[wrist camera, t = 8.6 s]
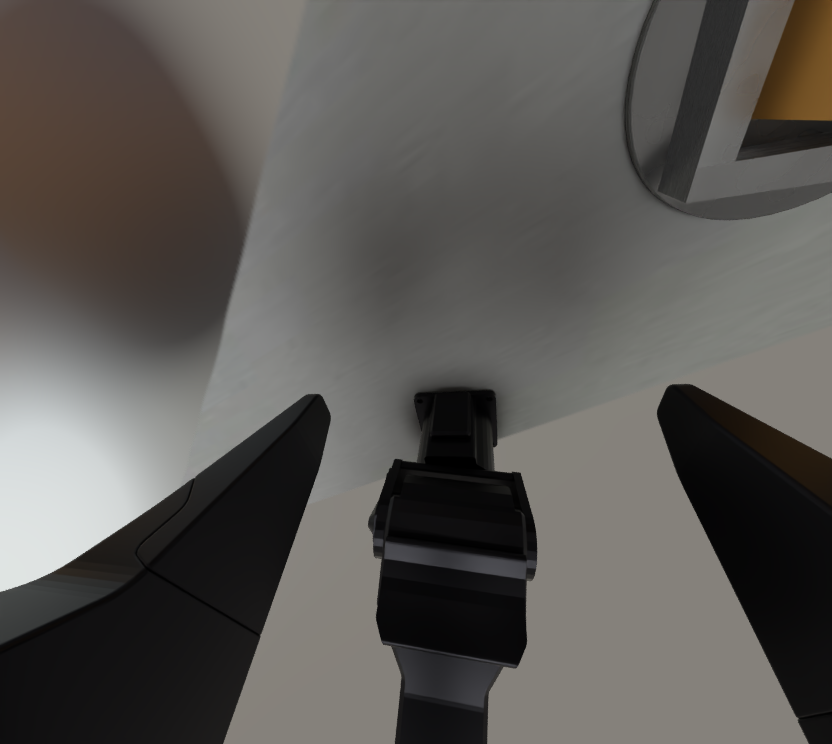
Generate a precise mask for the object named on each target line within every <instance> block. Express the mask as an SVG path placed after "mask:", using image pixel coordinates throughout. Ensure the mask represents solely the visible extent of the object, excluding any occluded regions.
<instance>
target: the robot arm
mask: <svg viewBox="0 0 832 744" xmlns="http://www.w3.org/2000/svg"><path fill="white" fill-rule="evenodd" d="M487 397H490V398H487ZM419 399H421V400H419ZM414 404H415V408H416V412H417V415H418V419H419V423H420V427H421V431H422V434H421V440H420V446H419V453H418V459H417V463H416V462H407V461H402V460H401V459H395V460H394V463H393V466H392V468H390V469H389V472H388V473H387V476H386V480H385V483H384V486H383V489H382V492H381V495H380V498H379V501H378V502H377V504H376V506H375V508H374V510H373V512H372V514H371V516H370V517H369V521H368V527H369V529H370V531H371V532H372V534H373V552H374V557H375V558H379V559H382V562H381V571H380V580H379V589H378V598H377V605H378V607H377V613H376V621H377V625H378V629H379V634H380V637H381V641H382V643H383V645H388V646H391V647H392V649H393V652H394V655H395V658H396V661H397V663H398V666H399V669H400V672H401V677H402V679H401V690H400V699H399V709H398V719H397V728H396V738H395V744H487V725H488V723H487V722H488V694H489V691H490V689H491V687H492V686H493V684H494V682H495V681H496V679H497V677H498V675H499V674H500V672H501V670H502V668H503V667H509V668H517V666H518V665H519V663H520V660H521V658H522V655H523V653H524V650H525V648H526V645H527V632H526V582H527V581H532V580H533V578H534V576H535V571H536V565H537V538H536V529H535V523H534V519H533V515H532V512H531V508H530V505H529V501H528V498H527V494H526V491H525V487H524V484H523V480H522V476H521V473H519V472H518V473H517V472H512V473H507V472H497V471H495V470H494V454H493V447H496V446H497V420H496V395H495V393H494V392H493V391H468V392H442V393H419V394H416V395H415V397H414ZM657 417H658V421H659V424H660V426H661V429H662V432H663V435H664V438H665V441H666V444H667V446H668V450H669V452H670V455H671V458H672V461H673V464H674V467H675V469H676V472H677V474H678V477H679V479H680V481H681V483H682V485H683V488H684V490H685V492H686V494H687V496H688V498H689V500H690V502H691V504H692V506H693V508H694V510H695V512H696V514H697V516H698V518H699V520H700V522H701V524H702V526H703V528H704V530H705V532H706V534H707V536H708V539H709V540H710V543H711V545H712V546H713V549H714V551H715V553H716V555H717V557H718V559H719V561H720V563H721V565H722V567H723V569H724V571H725V573H726V575H727V577H728V579H729V581H730V583H731V585H732V587H733V589H734V592H735V594H736V596H737V597H738V600H739V602H740V604H741V606H742V608H743V610H744V612H745V614H746V616H747V617H748V620H749V622H750V624H751V626H752V628H753V630H754V632H755V634H756V636H757V638H758V640H759V642H760V644H761V646H762V649H763V651H764V653H765V655H766V657H767V659H768V661H769V663H770V665H771V667H772V669H773V671H774V673H775V675H776V677H777V679H778V681H779V683H780V685H781V687H782V689H783V691H784V693H785V695H786V697H787V699H788V701H789V704H790V706H791V708H792V710H793V711H794V714H795V715H796V717H797V718H799V719H798V723H799V725H800V727H801V729H802V730H803V733H804V735H805V737H806V739H807V741H808V743H809V744H832V459H831V458H829V457H828V456H826V455H824V454H822V453H820V452H818V451H816V450H814V449H812V448H811V447H809V446H807V445H805V444H803V443H801V442H799V441H797V440H795V439H794V438H792V437H790V436H788V435H786V434H784V433H782V432H780V431H778V430H777V429H775V428H773V427H771V426H769V425H767V424H765V423H763V422H761V421H760V420H758V419H756V418H754V417H752V416H750V415H748V414H746V413H745V412H743V411H741V410H739V409H737V408H735V407H733V406H731V405H729V404H727V403H726V402H724V401H722V400H720V399H718V398H716V397H714V396H712V395H711V394H709V393H707V392H705V391H703V390H701V389H699V388H697V387H696V386H693V385H690V384H673V385H670V386H668V387H667V389H666V391H665V393H664V395H663V398H662V400H661V402H660V404H659V407H658V410H657ZM330 421H331V415H330V412H329V410H328V408H327V405H326V403H325V401H324V399H323V397H322V396H321V395H320V394H308V395H305V396H304V397H302V398H301V399H300V400H298V401H297V402H296V403H294V404H293V405H292V406H290V407H289V408H288V409H286V410H285V411H284V412H282V413H281V414H279V415H278V416H277V417H275V418H274V419H273V420H271V421H270V422H269V423H267V424H266V425H265V426H263V427H262V428H260V429H259V430H258V431H256V432H255V433H254V434H252V435H251V436H250V437H248V438H247V439H246V440H244V441H243V442H241V443H240V444H239V445H237V446H236V447H235V448H233V449H232V450H231V451H229V452H228V453H227V454H225V455H224V456H223V457H221V458H220V459H218V460H217V461H216V462H214V463H213V464H212V465H210V466H209V467H208V468H206V469H205V470H204V471H202V472H201V473H199V474H198V475H197V476H196V477H195V478H193V479H191V480H190V481H189V482H187V483H186V484H185V485H183V486H182V487H180V488H179V489H178V490H176V491H175V492H174V493H172V494H171V495H169V496H168V497H167V498H165V499H164V500H162V501H161V502H160V503H158V504H157V505H155V506H154V507H152V508H151V509H150V510H148V511H146V512H145V513H143V514H142V515H140V516H139V517H138V518H136V519H135V520H133V521H132V522H130V523H129V524H127V525H126V526H124V527H123V528H121V529H120V530H118V531H117V532H115V533H113V534H112V535H110V536H109V537H107V538H106V539H104V540H103V541H101V542H100V543H98V544H97V545H95V546H94V547H92V548H91V549H90V550H88V551H86V552H85V553H83V554H82V555H80V556H79V557H77V558H76V559H74V560H73V561H71V562H69V563H68V564H66V565H65V566H63V567H61V568H60V569H57V570H56V571H54V572H52V573H50V574H48V575H46V576H43V577H41V578H39V579H37V580H34V581H32V582H29V583H27V584H24V585H21V586H18V587H15V588H12V589H9V590H6V591H2V592H0V744H223V742H224V740H225V737H226V734H227V731H228V728H229V725H230V722H231V720H232V717H233V714H234V711H235V708H236V705H237V703H238V700H239V697H240V694H241V691H242V688H243V685H244V683H245V680H246V677H247V674H248V671H249V668H250V665H251V663H252V660H253V657H254V654H255V651H256V648H257V645H258V642H259V640H260V634H261V633H262V630H263V628H264V625H265V622H266V619H267V616H268V613H269V610H270V608H271V605H272V602H273V599H274V596H275V593H276V590H277V588H278V585H279V582H280V579H281V576H282V573H283V570H284V568H285V565H286V562H287V559H288V556H289V553H290V550H291V547H292V545H293V542H294V539H295V536H296V533H297V530H298V527H299V524H300V522H301V519H302V516H303V513H304V510H305V507H306V505H307V502H308V499H309V496H310V493H311V490H312V488H313V485H314V482H315V479H316V476H317V473H318V470H319V467H320V463H321V460H322V455H323V451H324V447H325V443H326V438H327V434H328V430H329V425H330Z"/></svg>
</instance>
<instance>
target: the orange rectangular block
mask: <svg viewBox="0 0 832 744" xmlns="http://www.w3.org/2000/svg"><path fill="white" fill-rule="evenodd" d="M751 119H772V120H826V121H832V0H795V1H794V4H793V7H792V9H791V12H790V15H789V17H788V20H787V23H786V25H785V28H784V31H783V33H782V36H781V39H780V42H779V44H778V47H777V50H776V52H775V55H774V58H773V60H772V63H771V66H770V69H769V71H768V74H767V77H766V79H765V82H764V85H763V87H762V90H761V93H760V96H759V98H758V101H757V104H756V106H755V109H754V112H753V114H752V117H751Z"/></svg>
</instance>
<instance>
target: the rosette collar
mask: <svg viewBox="0 0 832 744" xmlns="http://www.w3.org/2000/svg"><path fill="white" fill-rule="evenodd" d="M794 1H795V0H654V2H653V4H652V7H651V9H650V11H649V14H648V16H647V18H646V21H645V23H644V26H643V29H642V32H641V35H640V38H639V41H638V44H637V47H636V51H635V54H634V58H633V62H632V67H631V71H630V76H629V80H628V87H627V96H626V104H625V128H626V136H627V144H628V148H629V152H630V155H631V159H632V162H633V165H634V167H635V169H636V171H637V173H638V175H639V177H640V178H641V180H642V181H643V182H644V184H645V185H646V186H647V188H648V189H649V190H650V191H651V192H652V193H653V194H654V195H656V196H657V197H658V198H659V199H660V200H662V201H663V202H665V203H667V204H668V205H670V206H672V207H674V208H676V209H678V210H680V211H683V212H686V213H688V214H691V215H694V216H697V217H703V218H708V219H716V220H738V219H750V218H756V217H761V216H766V215H771V214H775V213H778V212H782V211H785V210H789V209H792V208H795V207H798V206H800V205H803V204H806V203H808V202H811V201H814V200H816V199H819V198H821V197H823V196H825V195H827V194H829V193H832V121H826V120H772V119H751V117H752V114H753V112H754V109H755V106H756V104H757V101H758V98H759V96H760V93H761V90H762V87H763V85H764V82H765V79H766V77H767V74H768V71H769V69H770V66H771V63H772V60H773V58H774V55H775V52H776V50H777V47H778V44H779V42H780V39H781V36H782V33H783V31H784V28H785V25H786V23H787V20H788V17H789V15H790V12H791V9H792V7H793V4H794Z"/></svg>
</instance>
